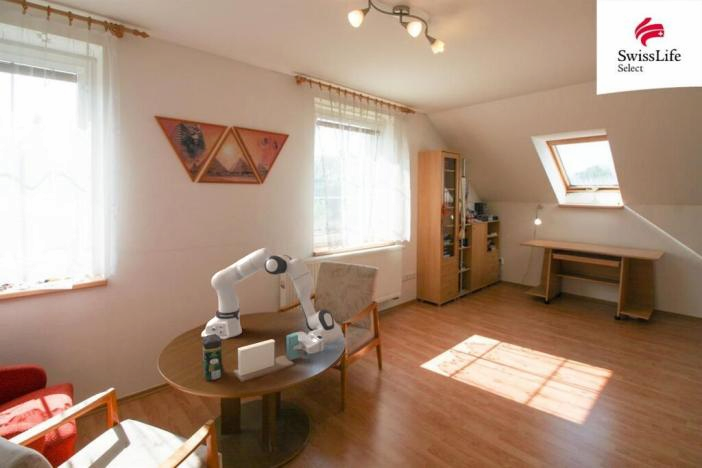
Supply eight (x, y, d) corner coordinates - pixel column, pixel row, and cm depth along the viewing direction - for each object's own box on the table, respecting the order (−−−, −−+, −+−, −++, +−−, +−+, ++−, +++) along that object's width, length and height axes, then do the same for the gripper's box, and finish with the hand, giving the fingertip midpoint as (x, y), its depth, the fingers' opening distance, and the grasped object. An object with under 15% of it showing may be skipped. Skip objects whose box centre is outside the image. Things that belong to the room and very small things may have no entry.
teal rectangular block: (289, 360, 171) (289, 337, 169) (286, 357, 173) (286, 335, 172) (298, 357, 174) (298, 335, 172) (295, 354, 176) (295, 333, 175)
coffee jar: (203, 372, 160) (201, 334, 158) (221, 368, 164) (220, 331, 161) (204, 382, 152) (203, 342, 149) (223, 378, 155) (222, 339, 153)
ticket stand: (241, 382, 153) (240, 354, 151) (233, 372, 161) (233, 345, 159) (293, 365, 169) (293, 339, 167) (284, 357, 176) (284, 332, 175)
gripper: (304, 327, 188) (281, 333, 180) (325, 340, 172) (300, 347, 164) (304, 338, 189) (281, 344, 181) (324, 352, 173) (300, 360, 165)
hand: (290, 346), depth 172 cm, fingers closed on teal rectangular block, 3 cm apart
